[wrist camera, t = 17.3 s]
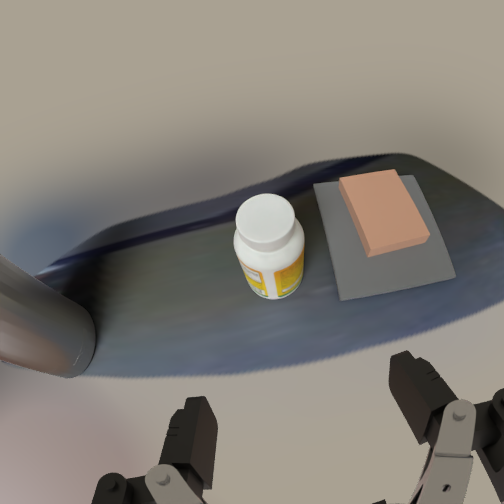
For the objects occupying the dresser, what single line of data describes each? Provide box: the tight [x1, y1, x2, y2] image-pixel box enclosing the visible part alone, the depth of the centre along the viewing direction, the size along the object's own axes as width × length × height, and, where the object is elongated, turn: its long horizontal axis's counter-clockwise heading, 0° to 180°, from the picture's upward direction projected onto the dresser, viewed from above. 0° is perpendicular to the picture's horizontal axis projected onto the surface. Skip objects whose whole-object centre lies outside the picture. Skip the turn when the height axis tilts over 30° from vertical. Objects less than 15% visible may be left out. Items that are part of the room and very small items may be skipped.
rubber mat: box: [313, 175, 456, 301], centre depth 27 cm, size 13×14×1 cm
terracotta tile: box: [338, 169, 430, 257], centre depth 27 cm, size 2×7×9 cm
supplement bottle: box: [234, 194, 304, 299], centre depth 23 cm, size 5×5×10 cm
